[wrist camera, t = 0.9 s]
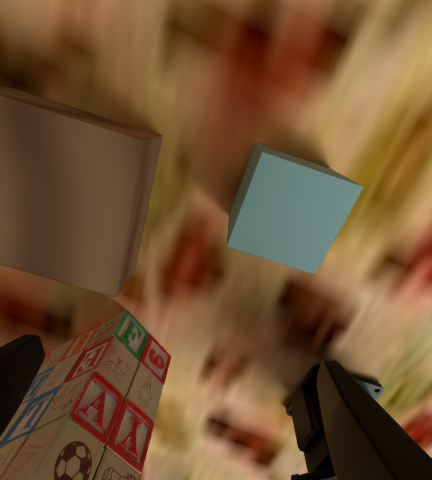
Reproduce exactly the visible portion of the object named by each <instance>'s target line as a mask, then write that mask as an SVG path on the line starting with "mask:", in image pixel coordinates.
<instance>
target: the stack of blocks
mask: <svg viewBox="0 0 432 480" xmlns="http://www.w3.org/2000/svg"><path fill="white" fill-rule="evenodd" d="M170 360H171V356H170V355H169V354H168V353H167V352H166V351H165V349H164V348H163V347H162V346H161V345H160V344H159V343H158V342H157V341H156V340H155V339H154V338H153V337H152V336H151V335H150V334H149V333H148V332H147V331H146V330H145V329H144V328H143V327H142V326H141V324H140V323H139V322H138V321H137V320H136V319H135V318H134V317H133V316H132V315H131V314H130V312H129V311H125V312H123V313H121V314H119V315H117V316H115V317H114V318H112V319H110V320H108V321H106V322H104V323H103V324H99V325H97V326H95V327H94V328H92V329H90V330H88V331H86V332H84V333H83V334H81V335H79V336H77V337H76V338H74V339H72V340H70V341H68V342H66V343H64V344H62V345H61V346H59V347H57V348H55V349H54V350H53V351H52V352H50V353H49V354H47V355H46V356H45V358H44V361H43V363H42V365H41V367H40V369H39V371H38V373H37V375H36V377H35V379H34V380H33V382H32V384H31V386H30V388H29V390H28V392H27V394H26V396H25V397H24V399H23V401H22V403H21V405H20V407H19V408H18V410H17V412H16V413H15V415H14V417H13V418H12V420H11V421H10V423H9V424H8V426H7V428H6V429H5V431H4V432H3V434H2V435H1V437H0V480H138V477H139V474H140V473H141V472H142V469H143V466H144V462H145V459H146V454H147V450H148V447H149V443H150V439H151V435H152V431H153V427H154V420H155V416H156V412H157V408H158V404H159V400H160V396H161V393H162V388H163V385H164V383H165V379H166V375H167V371H168V367H169V364H170Z"/></svg>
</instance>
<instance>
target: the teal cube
mask: <svg viewBox="0 0 432 480" xmlns="http://www.w3.org/2000/svg"><path fill="white" fill-rule="evenodd" d="M363 188H364V187H363V186H361V185H359V184H358V183H356V182H354V181H352V180H350V179H348V178H347V177H345V176H343V175H341V174H339V173H337V172H336V171H334V170H332V169H330V168H327V167H324V166H321V165H318V164H316V163H313V162H310V161H307V160H304V159H301V158H298V157H295V156H293V155H290V154H287V153H284V152H281V151H278V150H275V149H272V148H270V147H267V146H264V145H261V144H258V143H255V145H254V148H253V151H252V153H251V156H250V159H249V162H248V164H247V167H246V170H245V173H244V176H243V178H242V181H241V184H240V187H239V189H238V192H237V195H236V198H235V201H234V203H233V206H232V209H231V212H230V214H229V223H228V237H227V247H230V248H233V249H236V250H240V251H243V252H246V253H249V254H252V255H255V256H258V257H262V258H265V259H268V260H271V261H274V262H277V263H280V264H284V265H287V266H290V267H293V268H296V269H299V270H302V271H305V272H309V273H312V274H316V272H317V270H318V269H319V267H320V265H321V263H322V261H323V260H324V258H325V256H326V254H327V252H328V251H329V249H330V247H331V245H332V243H333V242H334V240H335V238H336V236H337V234H338V233H339V231H340V229H341V227H342V225H343V224H344V222H345V220H346V218H347V216H348V215H349V213H350V211H351V209H352V207H353V206H354V204H355V202H356V200H357V198H358V197H359V195H360V193H361V191H362V190H363Z"/></svg>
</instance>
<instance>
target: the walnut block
mask: <svg viewBox="0 0 432 480" xmlns="http://www.w3.org/2000/svg"><path fill="white" fill-rule="evenodd" d="M161 140H162V136H160V135H157V134H153V133H150V132H147V131H144V130H141V129H138V128H135V127H132V126H129V125H126V124H122V123H119V122H116V121H113V120H110V119H107V118H104V117H101V116H98V115H94V114H91V113H88V112H85V111H82V110H79V109H76V108H73V107H70V106H67V105H63V104H60V103H57V102H54V101H51V100H48V99H45V98H42V97H39V96H35V95H32V94H29V93H26V92H23V91H20V90H17V89H14V88H11V87H8V86H4V85H1V84H0V265H4V266H7V267H11V268H14V269H18V270H21V271H25V272H28V273H32V274H35V275H39V276H42V277H46V278H49V279H53V280H57V281H60V282H64V283H67V284H71V285H74V286H78V287H81V288H85V289H88V290H92V291H95V292H99V293H102V294H106V295H109V296H113V297H117V296H118V294H119V293H120V291H121V290H122V288H123V287H124V285H125V284H126V282H127V281H128V279H129V278H130V276H131V275H132V273H133V272H134V270H135V268H136V263H137V258H138V253H139V248H140V243H141V239H142V234H143V229H144V224H145V219H146V214H147V209H148V204H149V199H150V194H151V189H152V184H153V180H154V175H155V170H156V165H157V160H158V155H159V150H160V145H161Z"/></svg>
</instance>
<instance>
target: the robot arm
mask: <svg viewBox="0 0 432 480" xmlns="http://www.w3.org/2000/svg"><path fill="white" fill-rule="evenodd" d="M44 358H45V352H44V348H43V345H42V341H41V338H40V337H39V336H38V335H31V334H25V335H23V336H21V337H19V338H17V339H15V340H13V341H11V342H9V343H7V344H5V345H4V346H2V347H0V437H1V435H2V434H3V432H4V431H5V429H6V428H7V426H8V424H9V423H10V421H11V420H12V418H13V417H14V415H15V413H16V412H17V410H18V408H19V407H20V405H21V403H22V401H23V399H24V397H25V396H26V394H27V392H28V390H29V388H30V386H31V384H32V382H33V380H34V379H35V377H36V375H37V373H38V371H39V369H40V367H41V365H42V363H43V361H44ZM318 371H319V372H318ZM382 392H383V388H382V386H381V384H380V383H377V382H374V381H370V380H367V379H363V378H360V377H357V376H353V375H350V374H349V373H348V372H347V371H346V370H345V369H344V368H343V367H342V365H341V364H340V363H339V362H337V361H336V360H327V359H324V360H322V361H321V364H320V366H314V367H313V368H312V369H311V370H310V372H309V373H308V375H307V376H306V378H305V379H304V381H303V382H302V384H301V385H300V386H299V388H298V389H297V391H296V392H295V394H294V395H293V397H292V398H291V400H290V402H289V404H288V405H287V407H286V413H287V414H288V415H289V416H292V418H293V423H294V429H295V434H296V439H297V445H298V448H299V450H300V451H302V452H304V456H305V461H306V466H307V471H308V473H305V474H301V475H299V474H295V475H292V476H291V480H432V458H431V457H430V456H429V455H428V454H427V453H426V452H425V451H424V450H423V449H422V448H421V447H420V446H419V445H418V444H417V443H416V442H415V441H414V440H413V439H412V437H411V436H410V435H409V434H408V433H407V432H406V431H405V430H404V429H403V428H402V427H401V426H400V425H399V424H398V423H397V422H396V421H395V420H394V419H393V418H392V417H391V416H390V415H389V414H388V413H387V412H386V411H385V410H384V409H383V408H382V407H381V406H380V405H379V404H378V403H377V401H376V399H377V398H378V397H379V396H380V395H381V393H382Z"/></svg>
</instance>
